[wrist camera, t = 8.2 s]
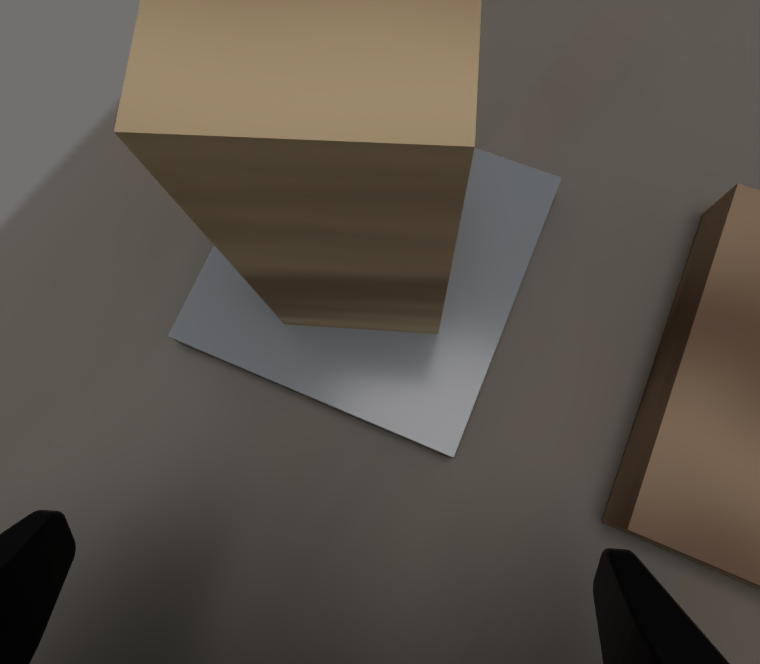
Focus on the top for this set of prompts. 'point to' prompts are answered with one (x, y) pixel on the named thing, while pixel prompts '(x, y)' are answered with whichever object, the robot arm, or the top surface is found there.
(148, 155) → the oak block
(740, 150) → the top surface
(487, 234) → the slate tile
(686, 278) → the walnut ledge
